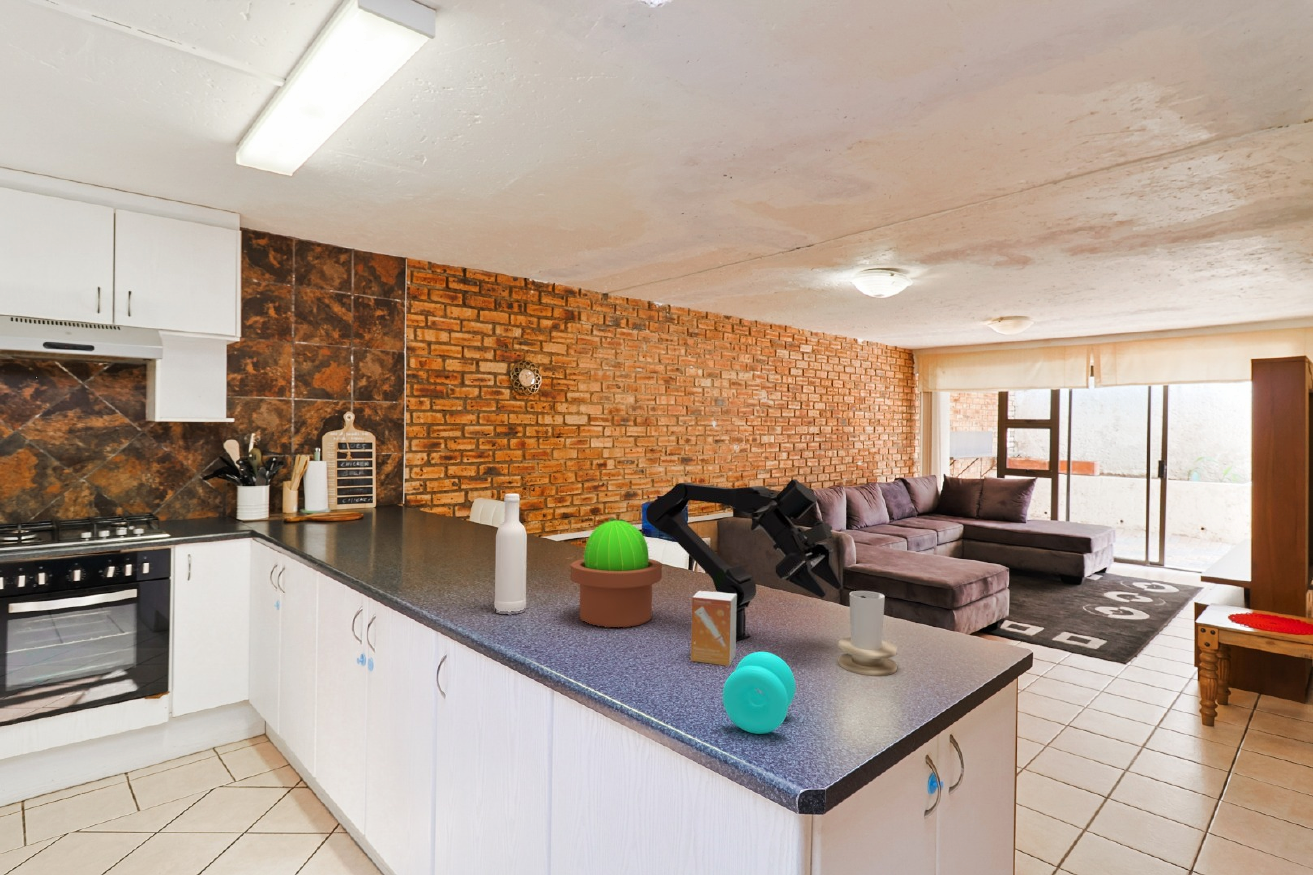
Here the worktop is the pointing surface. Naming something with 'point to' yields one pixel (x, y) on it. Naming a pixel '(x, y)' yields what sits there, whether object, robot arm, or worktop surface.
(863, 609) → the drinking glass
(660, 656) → the worktop surface
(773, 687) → the turquoise yoyo
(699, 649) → the small box
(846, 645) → the birch stand
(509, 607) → the bottle
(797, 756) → the worktop surface
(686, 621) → the worktop surface
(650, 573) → the potted cactus
